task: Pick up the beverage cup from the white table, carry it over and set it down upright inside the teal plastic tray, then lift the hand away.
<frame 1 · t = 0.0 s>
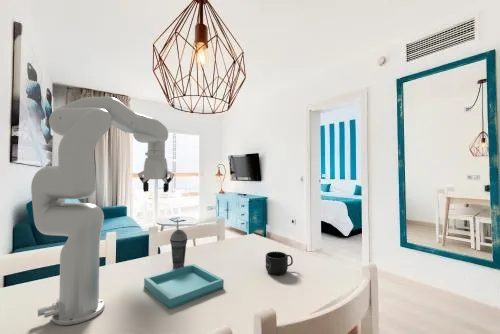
hand: (155, 191, 118), 31 cm above the table, tool pointing down, fingers open, 9 cm apart
tray: (183, 287, 90), on the table
mug: (279, 272, 104), on the table
beverage cup: (178, 266, 109), on the table
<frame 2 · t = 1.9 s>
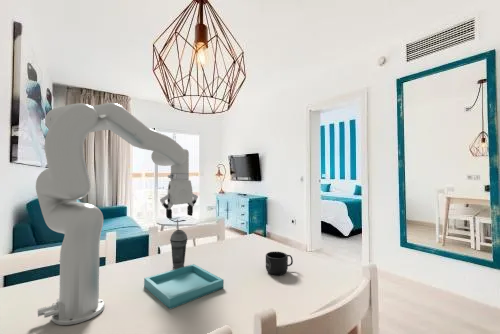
hand: (179, 216, 109), 21 cm above the table, tool pointing down, fingers open, 9 cm apart
nothing on the table moved.
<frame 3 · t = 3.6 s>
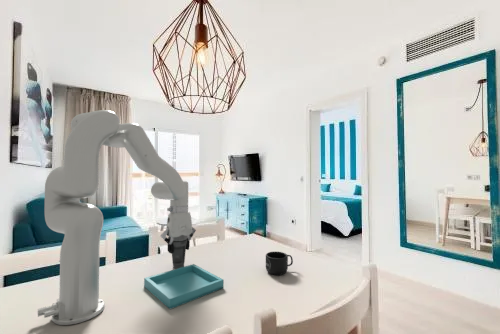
hand: (178, 250, 109), 7 cm above the table, tool pointing down, fingers closed on beverage cup, 6 cm apart
beverage cup: (178, 266, 109), on the table, touching gripper
everything else where it was.
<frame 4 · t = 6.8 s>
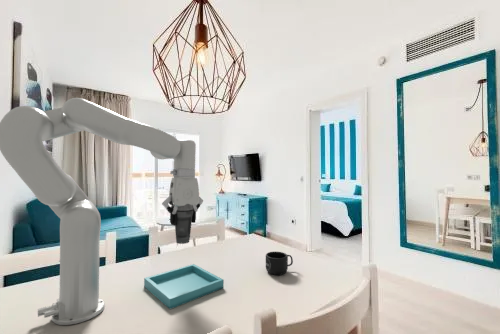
hand: (183, 223, 91), 22 cm above the table, tool pointing down, fingers closed on beverage cup, 6 cm apart
beverage cup: (182, 242, 91), point 15 cm above the table, touching gripper
everything else where it was.
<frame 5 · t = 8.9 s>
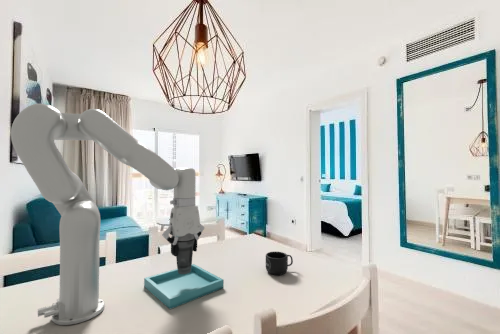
hand: (184, 252, 90), 12 cm above the table, tool pointing down, fingers closed on beverage cup, 6 cm apart
beverage cup: (184, 272, 90), point 5 cm above the table, touching gripper
everything else where it was.
when the fingers open (8 cm above the table, at t = 10.3 s): beverage cup stays where it is, resting on tray.
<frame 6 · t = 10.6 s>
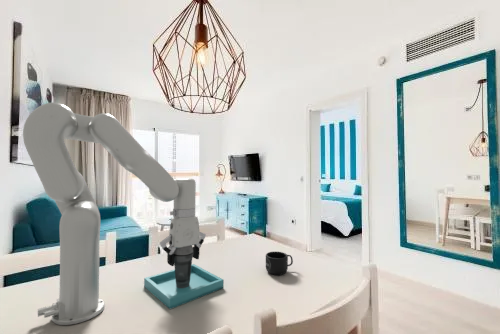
hand: (183, 261, 90), 9 cm above the table, tool pointing down, fingers open, 9 cm apart
beverage cup: (182, 285, 89), point 1 cm above the table, touching tray
everything else where it was.
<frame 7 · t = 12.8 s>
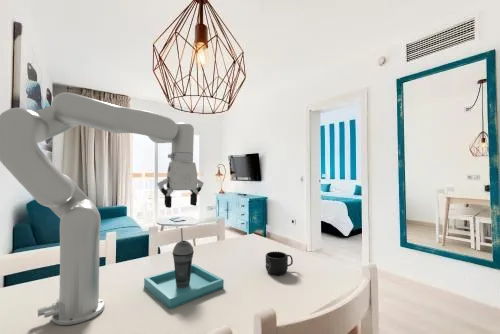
hand: (181, 206, 90), 29 cm above the table, tool pointing down, fingers open, 9 cm apart
nothing on the table moved.
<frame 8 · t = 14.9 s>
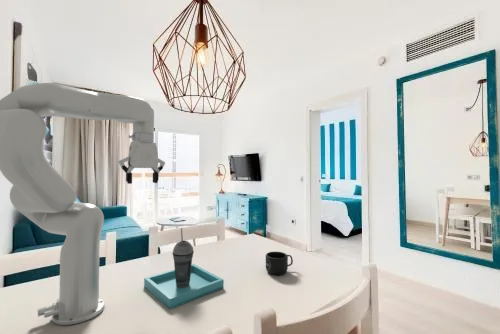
hand: (142, 183, 98), 36 cm above the table, tool pointing down, fingers open, 9 cm apart
nothing on the table moved.
at the end: beverage cup inside the target area on the tray (0.3 cm from its centre), point 0.6 cm above the tray's base; beverage cup tilted 0°; the gripper is holding nothing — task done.
